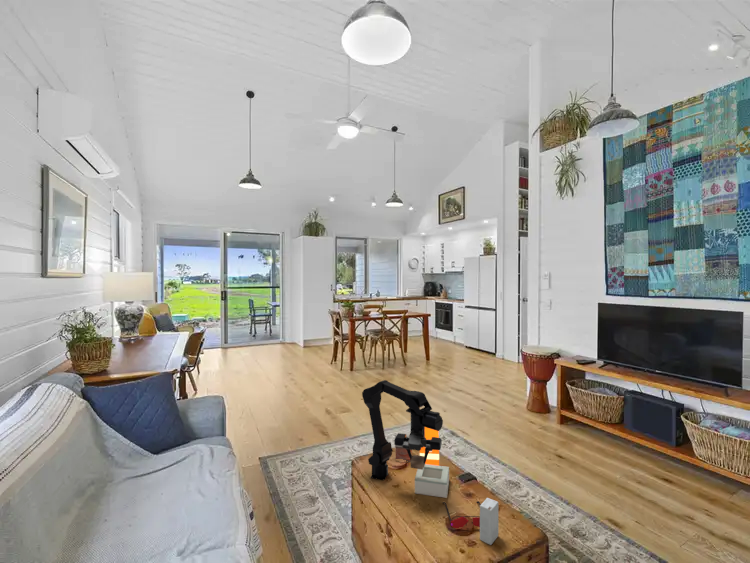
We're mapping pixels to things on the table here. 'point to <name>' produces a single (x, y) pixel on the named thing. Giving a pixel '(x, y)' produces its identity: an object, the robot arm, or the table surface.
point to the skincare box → (489, 521)
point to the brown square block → (417, 462)
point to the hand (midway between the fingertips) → (418, 462)
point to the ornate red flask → (402, 453)
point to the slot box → (432, 480)
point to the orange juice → (434, 454)
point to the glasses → (463, 519)
